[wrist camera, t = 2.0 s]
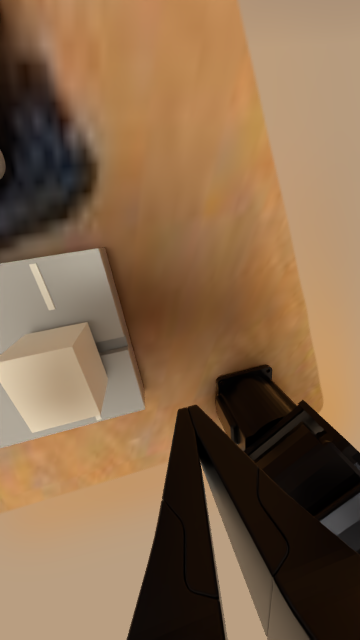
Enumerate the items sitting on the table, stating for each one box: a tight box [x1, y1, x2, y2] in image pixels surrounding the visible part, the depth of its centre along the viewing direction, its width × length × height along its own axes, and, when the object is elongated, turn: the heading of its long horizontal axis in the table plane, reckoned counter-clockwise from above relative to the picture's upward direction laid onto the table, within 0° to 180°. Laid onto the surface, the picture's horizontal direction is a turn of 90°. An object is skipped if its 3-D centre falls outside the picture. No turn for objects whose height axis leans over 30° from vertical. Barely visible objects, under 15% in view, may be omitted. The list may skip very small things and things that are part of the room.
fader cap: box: [0, 322, 108, 433], centre depth 13 cm, size 4×5×4 cm
